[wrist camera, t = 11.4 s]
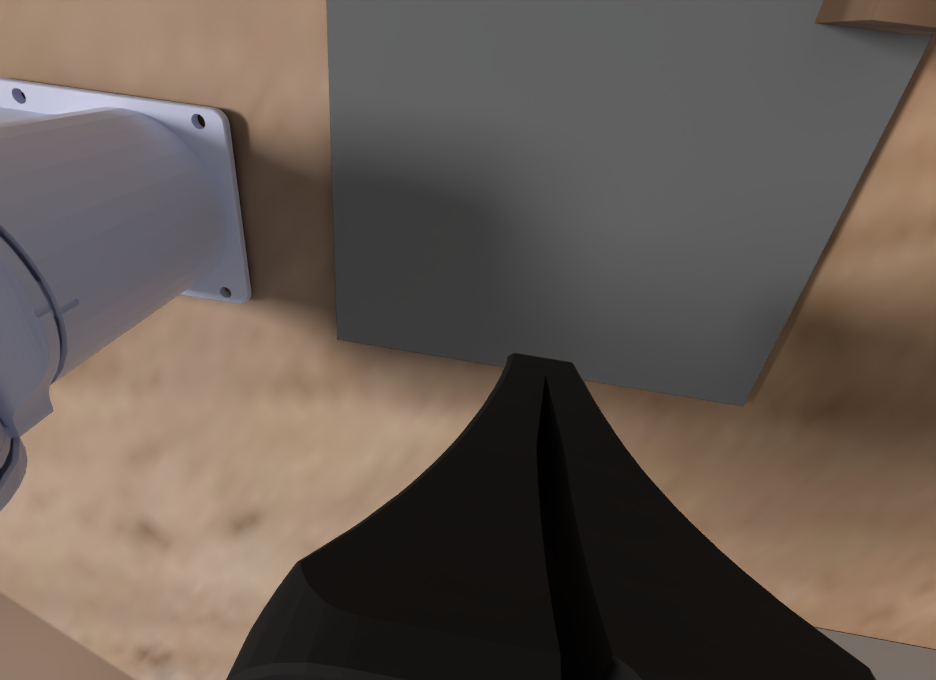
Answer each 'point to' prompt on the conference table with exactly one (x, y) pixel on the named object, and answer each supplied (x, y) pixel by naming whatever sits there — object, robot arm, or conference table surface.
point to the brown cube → (881, 15)
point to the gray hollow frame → (888, 657)
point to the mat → (596, 177)
